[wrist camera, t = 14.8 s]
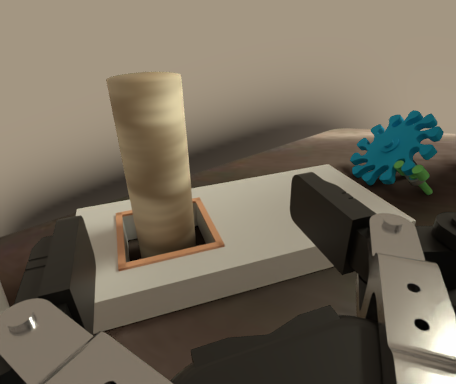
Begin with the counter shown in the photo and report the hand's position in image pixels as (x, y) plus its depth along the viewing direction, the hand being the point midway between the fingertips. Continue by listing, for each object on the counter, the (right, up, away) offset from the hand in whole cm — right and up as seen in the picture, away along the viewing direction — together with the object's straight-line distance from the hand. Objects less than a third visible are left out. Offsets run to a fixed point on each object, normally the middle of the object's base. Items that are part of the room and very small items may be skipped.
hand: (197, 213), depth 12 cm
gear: (+20, +2, +25) cm, 32 cm away
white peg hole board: (+2, -3, +16) cm, 16 cm away
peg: (-4, -4, +14) cm, 15 cm away
